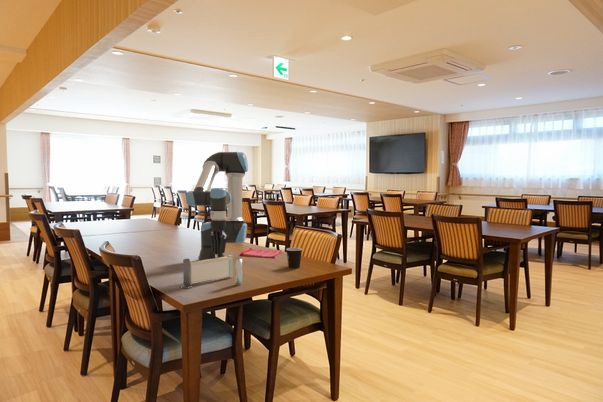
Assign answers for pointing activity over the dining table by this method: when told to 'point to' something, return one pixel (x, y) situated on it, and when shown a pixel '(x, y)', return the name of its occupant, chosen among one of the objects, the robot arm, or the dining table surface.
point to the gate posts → (238, 274)
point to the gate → (207, 269)
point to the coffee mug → (294, 257)
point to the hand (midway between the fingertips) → (218, 266)
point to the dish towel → (261, 253)
